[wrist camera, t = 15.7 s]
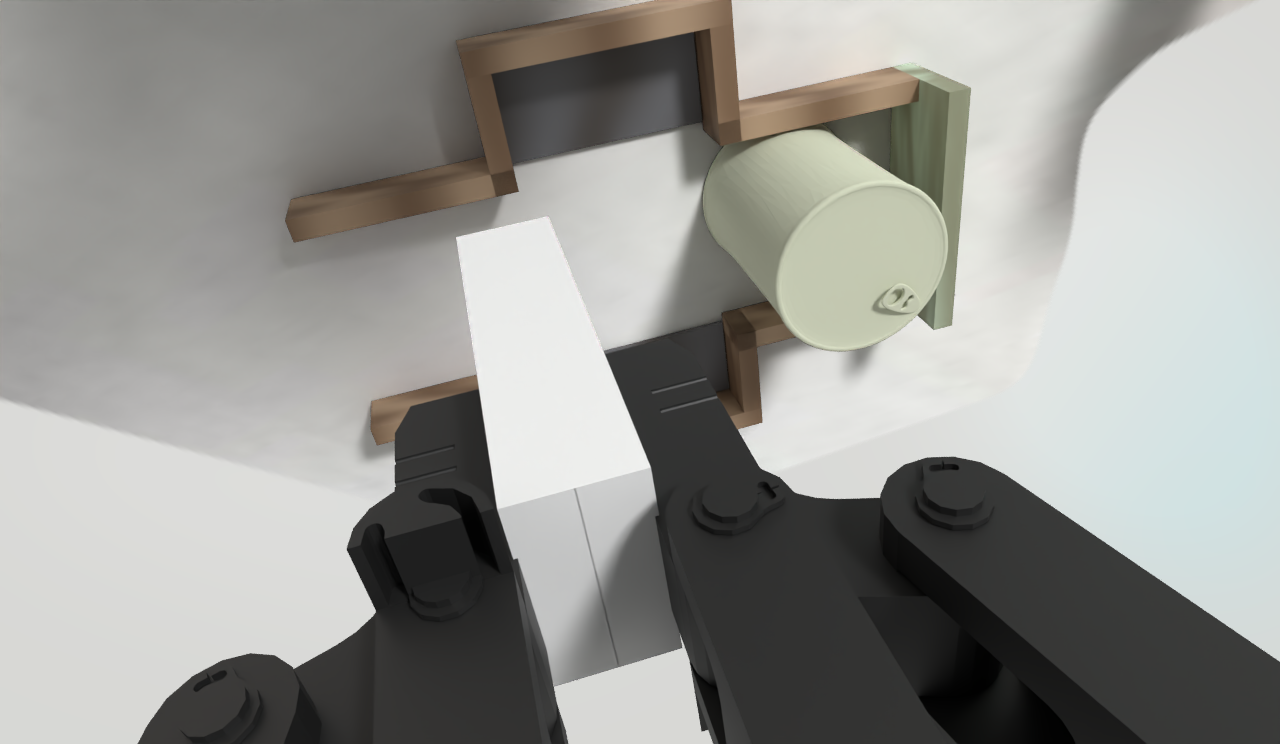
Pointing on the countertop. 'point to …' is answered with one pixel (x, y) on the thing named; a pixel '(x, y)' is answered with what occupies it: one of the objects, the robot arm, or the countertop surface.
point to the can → (826, 235)
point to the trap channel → (641, 104)
